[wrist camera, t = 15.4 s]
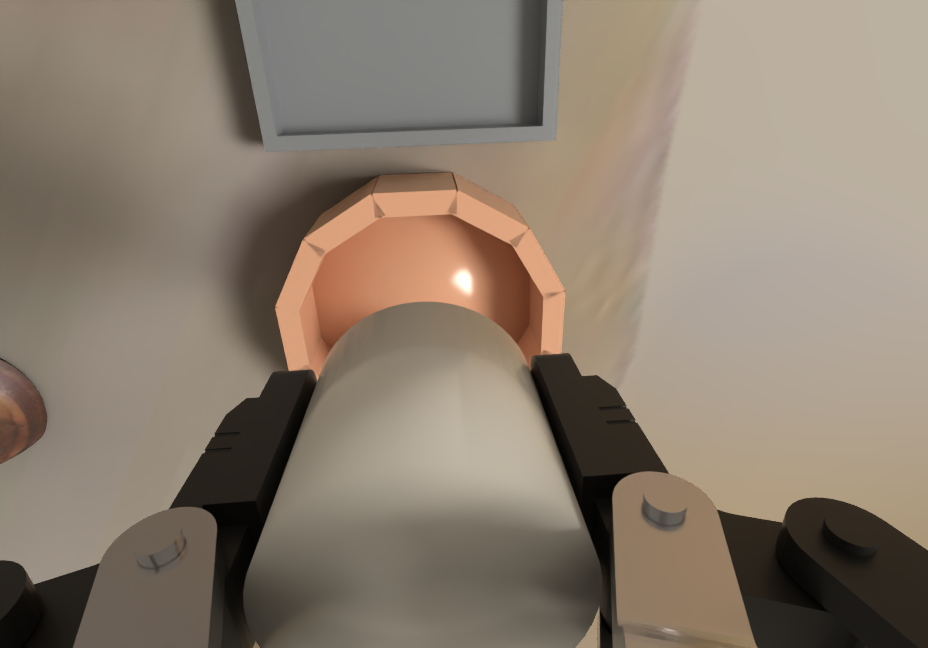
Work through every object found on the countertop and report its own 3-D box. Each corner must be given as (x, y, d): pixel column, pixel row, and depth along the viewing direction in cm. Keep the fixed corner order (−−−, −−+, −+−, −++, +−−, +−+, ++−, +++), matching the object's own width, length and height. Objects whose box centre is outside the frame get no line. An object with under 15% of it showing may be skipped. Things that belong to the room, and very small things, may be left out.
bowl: (277, 179, 24) (251, 198, 20) (550, 167, 24) (572, 184, 21) (320, 406, 29) (306, 452, 26) (540, 391, 30) (555, 434, 27)
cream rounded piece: (300, 308, 9) (201, 486, 5) (535, 295, 10) (618, 455, 5) (334, 488, 11) (280, 725, 7) (529, 474, 11) (588, 695, 7)
